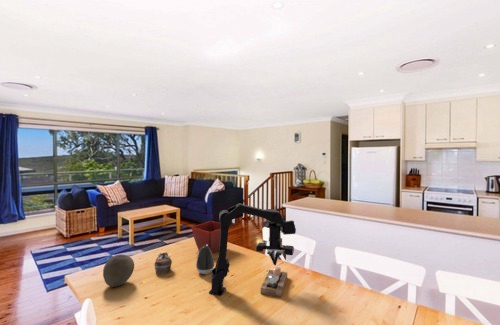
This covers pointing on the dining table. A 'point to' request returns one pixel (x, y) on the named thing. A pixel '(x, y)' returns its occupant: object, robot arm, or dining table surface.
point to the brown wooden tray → (278, 289)
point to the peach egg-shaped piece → (277, 271)
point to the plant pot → (207, 235)
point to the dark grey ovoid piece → (205, 260)
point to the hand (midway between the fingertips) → (275, 265)
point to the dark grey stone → (118, 270)
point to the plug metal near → (272, 280)
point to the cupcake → (163, 263)
